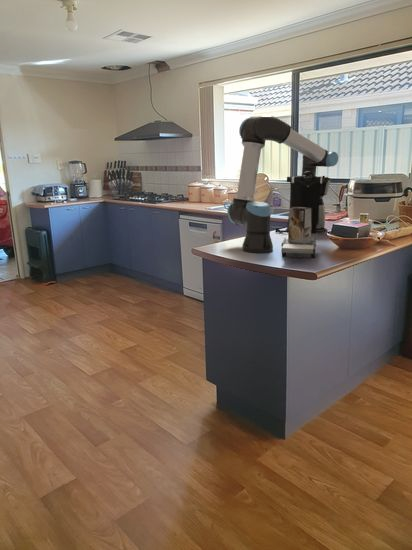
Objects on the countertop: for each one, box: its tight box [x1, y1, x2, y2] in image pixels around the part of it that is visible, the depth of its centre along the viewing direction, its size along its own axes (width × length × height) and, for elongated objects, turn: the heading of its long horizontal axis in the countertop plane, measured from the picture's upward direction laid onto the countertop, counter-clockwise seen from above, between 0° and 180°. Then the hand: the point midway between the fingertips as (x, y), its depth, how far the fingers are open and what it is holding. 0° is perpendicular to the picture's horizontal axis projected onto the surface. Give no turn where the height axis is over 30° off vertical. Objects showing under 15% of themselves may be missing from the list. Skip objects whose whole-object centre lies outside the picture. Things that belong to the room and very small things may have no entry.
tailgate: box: [280, 244, 314, 254], centre depth 189 cm, size 13×2×13 cm
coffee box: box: [287, 207, 312, 244], centre depth 200 cm, size 9×6×16 cm
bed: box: [280, 237, 317, 259], centre depth 202 cm, size 15×15×7 cm
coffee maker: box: [275, 175, 331, 234], centre depth 263 cm, size 23×32×34 cm
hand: (306, 180), depth 209 cm, fingers open, 13 cm apart
